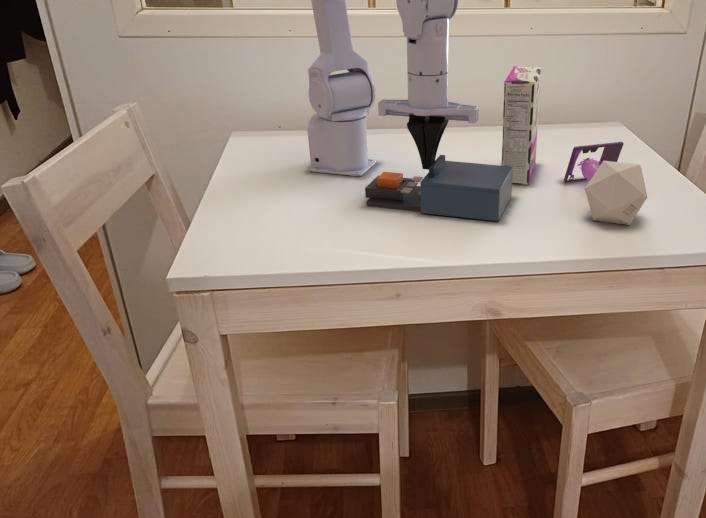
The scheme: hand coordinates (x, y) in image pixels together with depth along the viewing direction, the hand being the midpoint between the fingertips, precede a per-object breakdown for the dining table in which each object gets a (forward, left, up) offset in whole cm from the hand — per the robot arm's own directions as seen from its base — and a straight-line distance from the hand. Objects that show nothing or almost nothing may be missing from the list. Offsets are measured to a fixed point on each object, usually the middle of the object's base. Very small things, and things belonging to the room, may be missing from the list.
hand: (428, 167), depth 108 cm
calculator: (-1, 0, -6) cm, 6 cm away
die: (+28, +1, -6) cm, 28 cm away
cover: (+6, 0, -5) cm, 8 cm away
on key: (-6, 0, -3) cm, 7 cm away
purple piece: (+24, +16, -6) cm, 29 cm away
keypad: (+1, 0, -3) cm, 3 cm away
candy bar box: (+11, +17, -6) cm, 21 cm away
